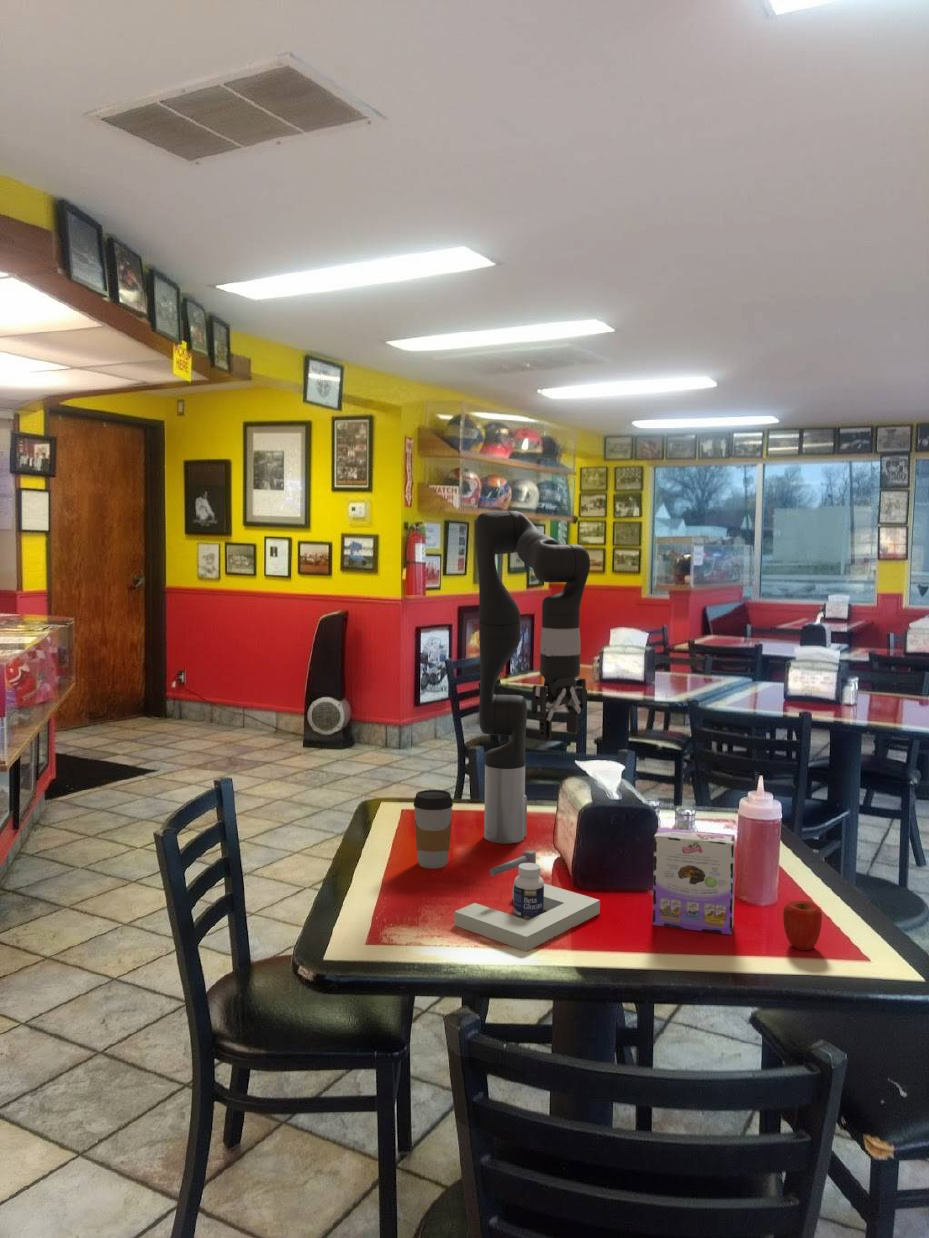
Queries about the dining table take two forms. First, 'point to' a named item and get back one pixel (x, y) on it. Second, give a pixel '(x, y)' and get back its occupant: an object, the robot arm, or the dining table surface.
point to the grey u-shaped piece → (524, 934)
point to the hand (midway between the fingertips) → (558, 736)
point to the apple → (802, 924)
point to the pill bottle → (528, 892)
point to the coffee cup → (433, 827)
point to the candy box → (694, 880)
